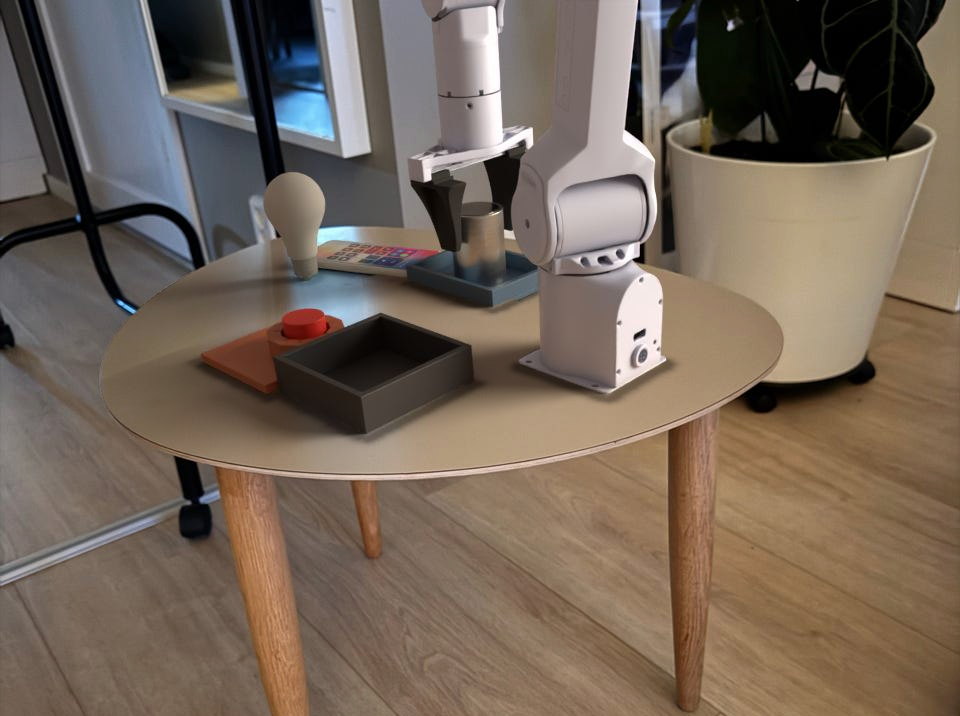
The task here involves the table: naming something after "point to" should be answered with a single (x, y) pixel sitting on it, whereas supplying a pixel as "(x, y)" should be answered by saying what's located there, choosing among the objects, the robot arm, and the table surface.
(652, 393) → the table surface
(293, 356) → the dark grey open box
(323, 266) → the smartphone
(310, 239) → the lightbulb
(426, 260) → the tray
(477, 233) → the steel cup
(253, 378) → the control
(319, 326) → the button
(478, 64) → the robot arm
